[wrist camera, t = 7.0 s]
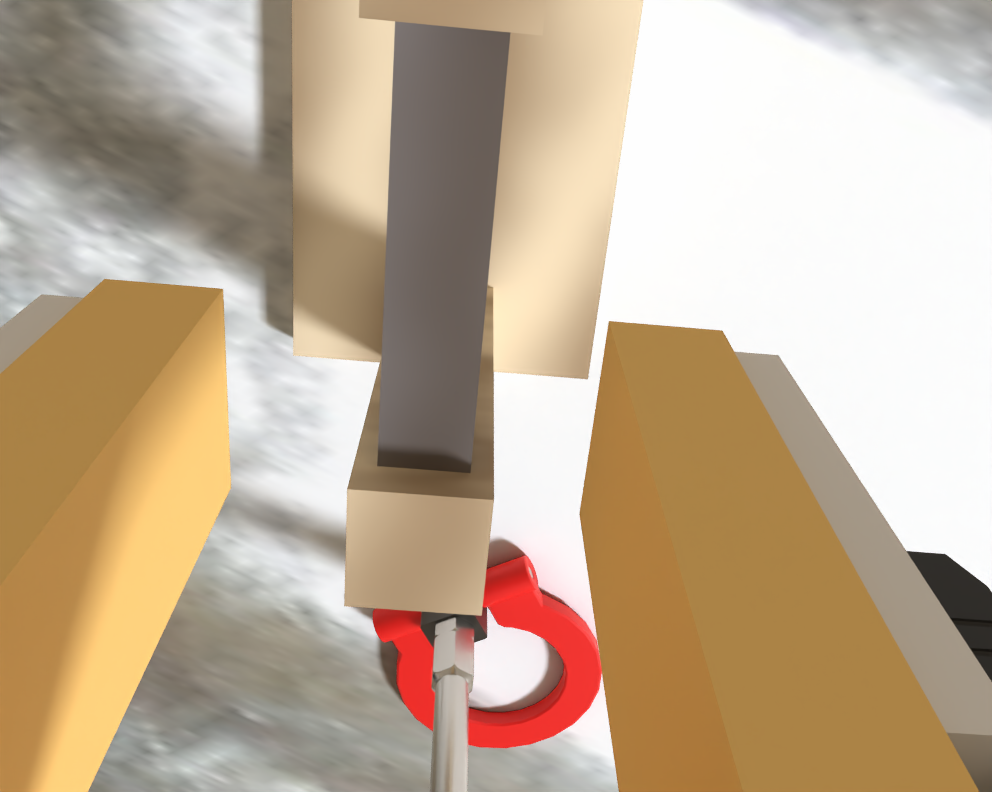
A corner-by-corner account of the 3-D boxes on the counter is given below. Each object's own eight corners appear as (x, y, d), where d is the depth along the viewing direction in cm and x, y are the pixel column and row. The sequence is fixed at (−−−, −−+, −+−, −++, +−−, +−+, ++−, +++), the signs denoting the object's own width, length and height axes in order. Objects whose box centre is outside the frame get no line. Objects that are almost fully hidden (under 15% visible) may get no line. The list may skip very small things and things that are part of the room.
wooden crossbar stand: (299, 341, 33) (182, 595, 21) (299, -153, 27) (125, -223, 14) (584, 364, 34) (639, 626, 21) (653, -117, 27) (794, -153, 14)
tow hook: (627, 692, 41) (545, 536, 37) (682, 1006, 30) (574, 832, 26) (450, 749, 43) (352, 605, 38) (440, 1068, 31) (300, 913, 27)
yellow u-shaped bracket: (124, 479, 13) (-613, 1578, 5) (104, 279, 12) (-987, 1269, 3) (682, 521, 14) (1026, 1625, 5) (722, 330, 12) (1300, 1368, 4)
